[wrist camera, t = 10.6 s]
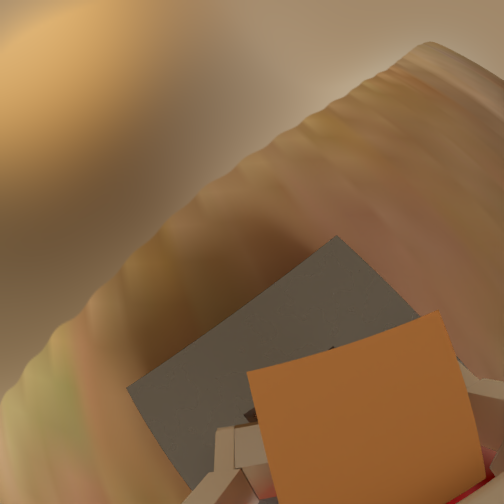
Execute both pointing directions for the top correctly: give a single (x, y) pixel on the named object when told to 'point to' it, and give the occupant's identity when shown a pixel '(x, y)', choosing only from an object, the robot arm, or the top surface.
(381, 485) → the square block
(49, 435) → the top surface
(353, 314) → the square hole plate
